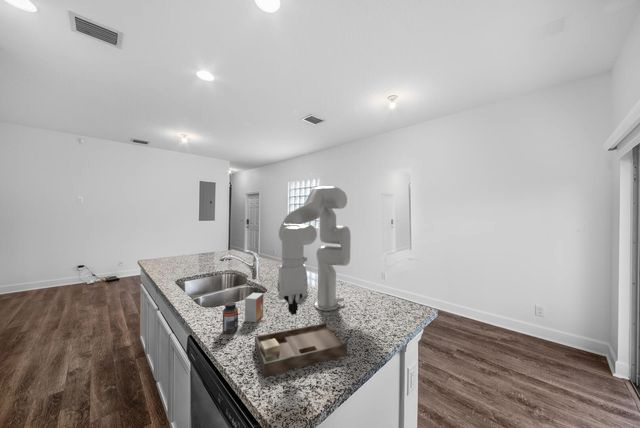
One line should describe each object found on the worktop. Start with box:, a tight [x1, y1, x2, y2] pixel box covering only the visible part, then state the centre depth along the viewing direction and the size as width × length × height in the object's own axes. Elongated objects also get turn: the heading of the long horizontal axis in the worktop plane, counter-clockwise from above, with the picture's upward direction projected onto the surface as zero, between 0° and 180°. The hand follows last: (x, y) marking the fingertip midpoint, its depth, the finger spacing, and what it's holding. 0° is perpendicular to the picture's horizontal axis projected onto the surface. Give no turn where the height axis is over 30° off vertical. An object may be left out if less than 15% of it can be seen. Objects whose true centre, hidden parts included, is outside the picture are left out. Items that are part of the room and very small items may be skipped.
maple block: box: [261, 338, 280, 358], centre depth 82 cm, size 5×5×3 cm
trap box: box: [254, 322, 348, 378], centre depth 88 cm, size 29×17×4 cm, turn 114°
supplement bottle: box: [222, 301, 239, 334], centre depth 102 cm, size 6×6×11 cm
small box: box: [244, 292, 264, 323], centre depth 113 cm, size 8×6×10 cm
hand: (292, 312), depth 87 cm, fingers closed
